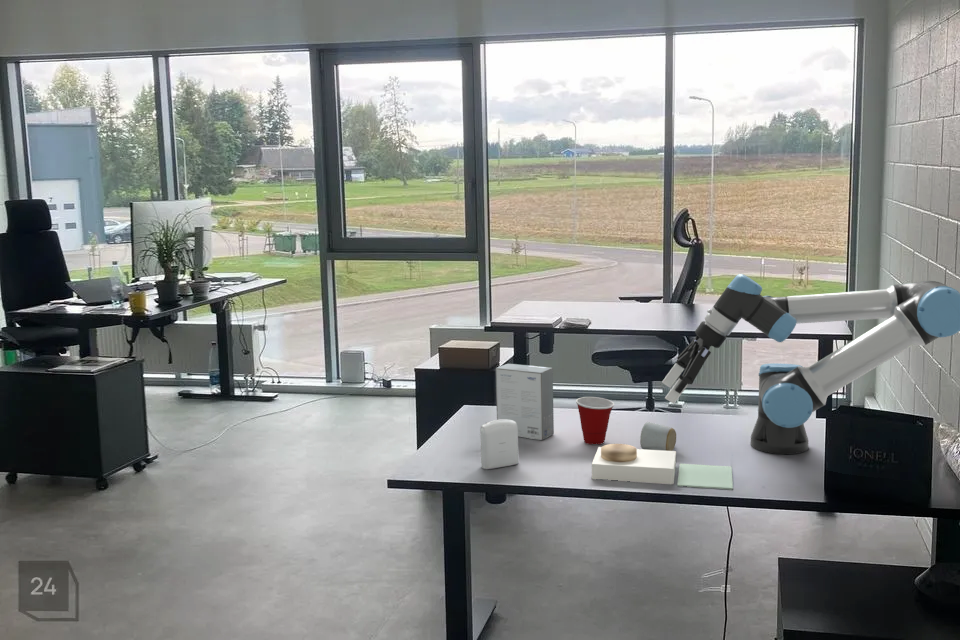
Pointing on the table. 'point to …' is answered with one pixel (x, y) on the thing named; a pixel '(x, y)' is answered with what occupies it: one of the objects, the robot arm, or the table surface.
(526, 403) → the hard drive box
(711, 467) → the sage mat
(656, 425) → the ceramic mug
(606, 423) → the plastic cup
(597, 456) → the block
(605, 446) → the cork coaster
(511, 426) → the photo printer
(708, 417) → the table surface
